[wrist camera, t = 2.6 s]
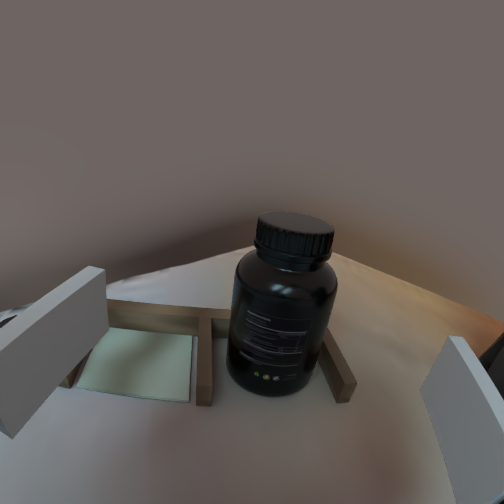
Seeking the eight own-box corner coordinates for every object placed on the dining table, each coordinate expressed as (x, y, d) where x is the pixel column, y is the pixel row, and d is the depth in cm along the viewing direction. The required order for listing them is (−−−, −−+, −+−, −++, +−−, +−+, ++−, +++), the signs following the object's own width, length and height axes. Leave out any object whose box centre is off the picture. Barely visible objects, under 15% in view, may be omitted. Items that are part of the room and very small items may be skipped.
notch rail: (314, 330, 30) (319, 313, 29) (348, 401, 21) (357, 382, 20) (93, 315, 26) (91, 296, 26) (58, 385, 17) (51, 365, 17)
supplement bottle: (234, 336, 27) (253, 201, 23) (311, 351, 26) (345, 217, 22) (214, 389, 21) (230, 224, 17) (309, 408, 20) (360, 248, 16)
